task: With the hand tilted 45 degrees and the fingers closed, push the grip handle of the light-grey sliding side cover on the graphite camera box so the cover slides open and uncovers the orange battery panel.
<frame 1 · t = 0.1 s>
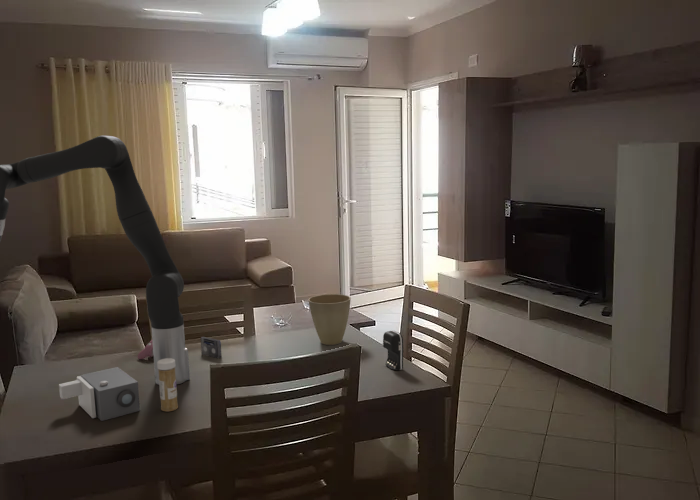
plant pot: (330, 342, 226), on the table
battery charger: (392, 368, 197), on the table
mini dv tape: (211, 356, 213), on the table
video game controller: (152, 356, 215), on the table
sprinkles bottle: (169, 409, 169), on the table
side cover: (76, 398, 166), point 4 cm above the table, slide at 0.0 cm
camera box: (111, 406, 171), on the table
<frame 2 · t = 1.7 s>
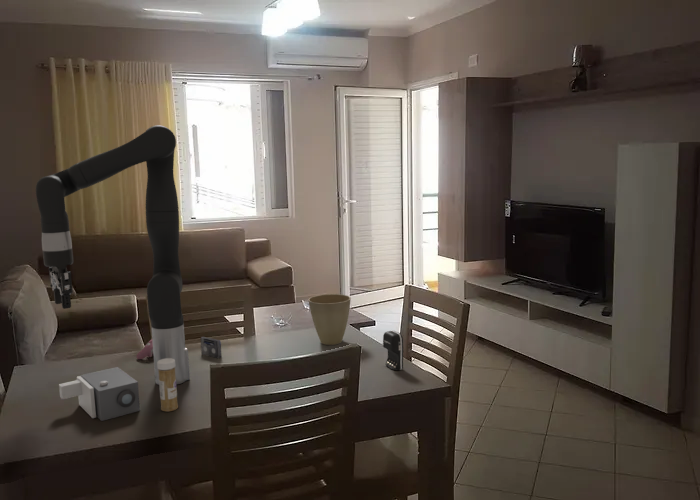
hand: (63, 305, 178), 26 cm above the table, tool pointing down, fingers open, 7 cm apart
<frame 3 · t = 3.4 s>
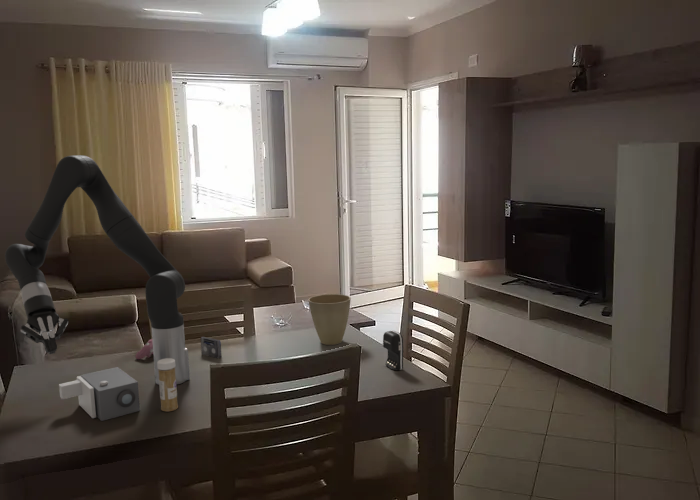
hand: (52, 352, 175), 14 cm above the table, tool tilted 45°, fingers closed
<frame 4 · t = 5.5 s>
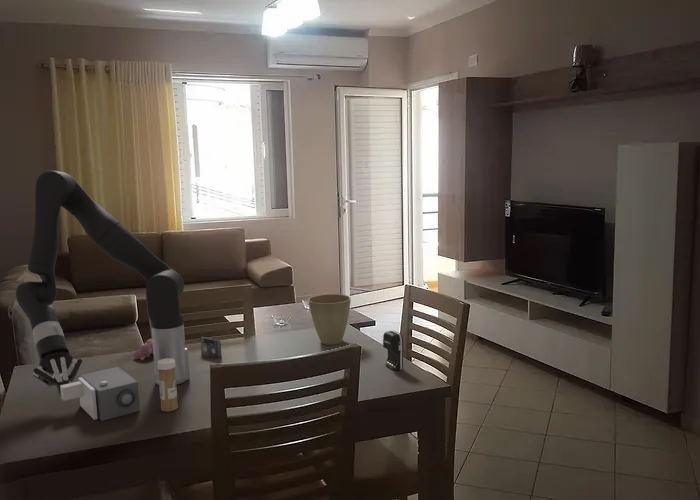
hand: (66, 395, 168), 4 cm above the table, tool tilted 45°, fingers closed
side cover: (77, 400, 165), point 4 cm above the table, slide at 1.3 cm, touching gripper
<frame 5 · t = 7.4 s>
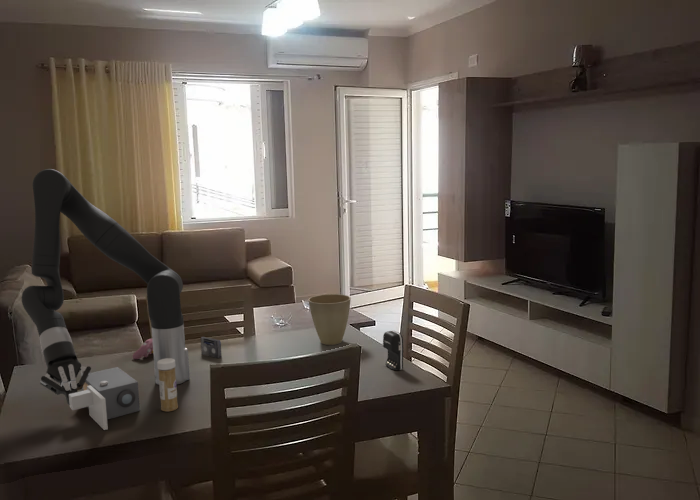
hand: (74, 404, 162), 4 cm above the table, tool tilted 45°, fingers closed
side cover: (86, 409, 159), point 4 cm above the table, slide at 9.4 cm, touching gripper
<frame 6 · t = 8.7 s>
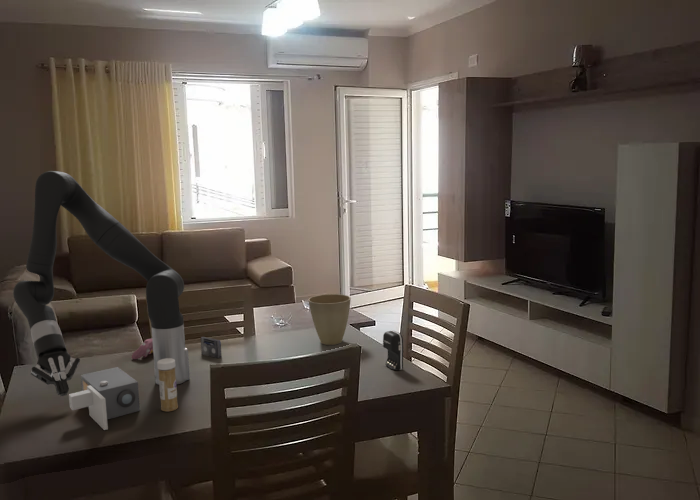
hand: (64, 394, 169), 4 cm above the table, tool tilted 45°, fingers closed
side cover: (86, 409, 159), point 4 cm above the table, slide at 9.4 cm
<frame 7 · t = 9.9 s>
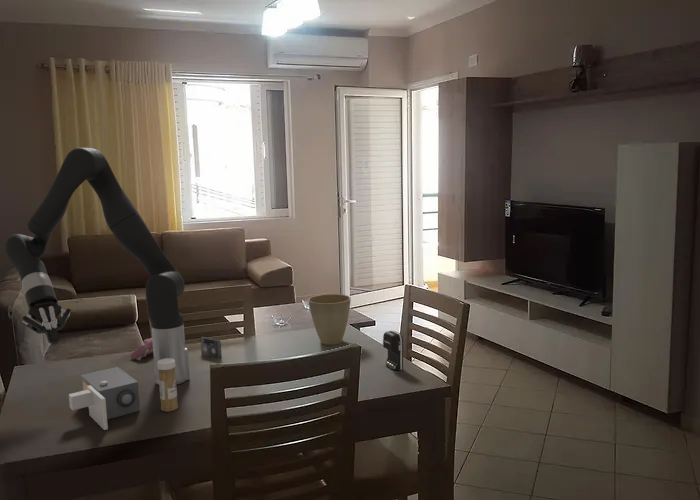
hand: (55, 342, 172), 17 cm above the table, tool tilted 45°, fingers closed
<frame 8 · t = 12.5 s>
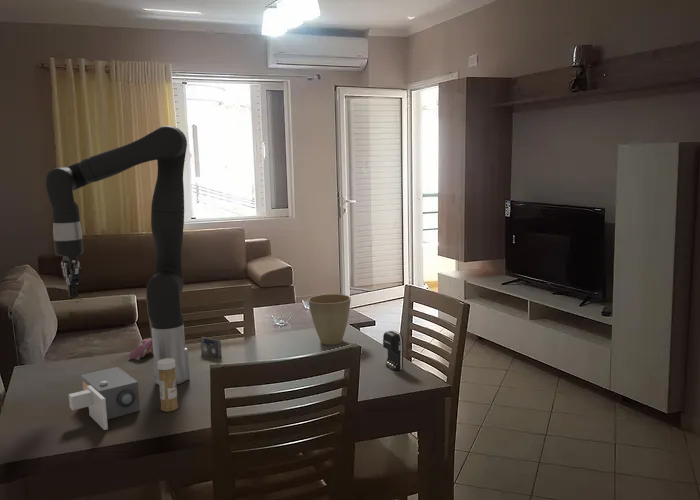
hand: (73, 297, 184), 27 cm above the table, tool pointing down, fingers closed
at the end: side cover slide at 9.4 cm; the gripper is holding nothing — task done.
